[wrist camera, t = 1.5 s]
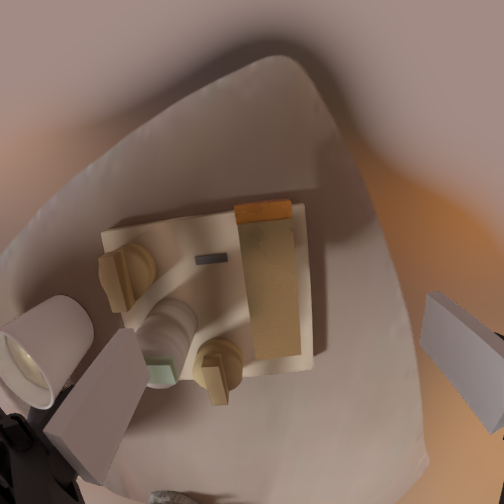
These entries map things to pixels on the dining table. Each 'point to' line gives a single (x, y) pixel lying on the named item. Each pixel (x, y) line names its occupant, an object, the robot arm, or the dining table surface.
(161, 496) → the ceramic cottage
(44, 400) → the candle holder
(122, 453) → the dining table surface
